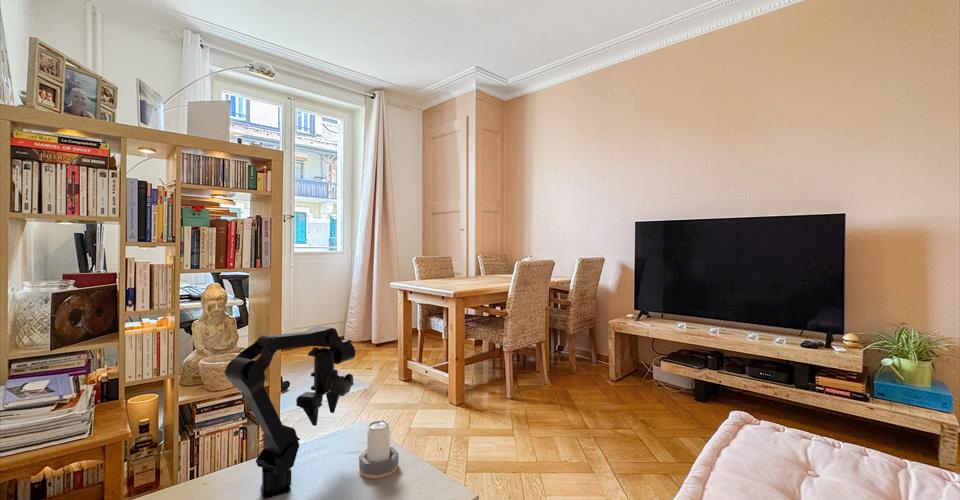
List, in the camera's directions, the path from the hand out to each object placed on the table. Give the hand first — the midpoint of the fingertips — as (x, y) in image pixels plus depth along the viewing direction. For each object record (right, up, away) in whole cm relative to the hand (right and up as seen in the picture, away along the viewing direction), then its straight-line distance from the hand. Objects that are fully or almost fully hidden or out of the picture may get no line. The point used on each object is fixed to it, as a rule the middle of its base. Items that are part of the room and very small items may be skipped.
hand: (323, 418), depth 122 cm
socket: (+18, -13, -3) cm, 22 cm away
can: (+18, -12, -4) cm, 22 cm away
